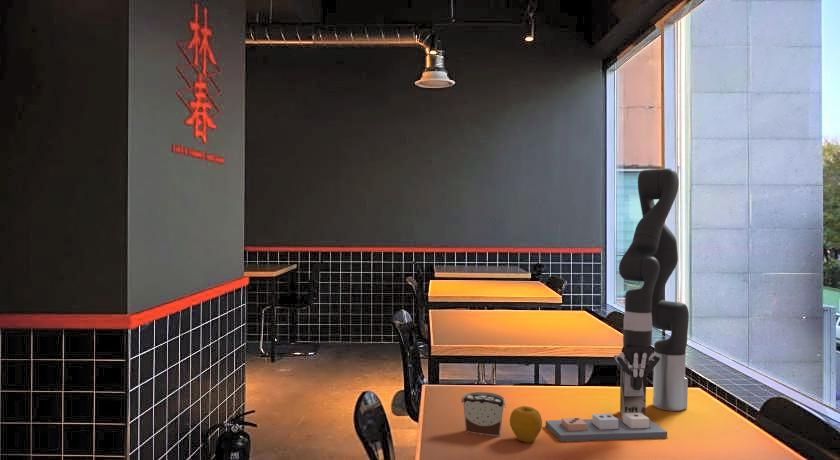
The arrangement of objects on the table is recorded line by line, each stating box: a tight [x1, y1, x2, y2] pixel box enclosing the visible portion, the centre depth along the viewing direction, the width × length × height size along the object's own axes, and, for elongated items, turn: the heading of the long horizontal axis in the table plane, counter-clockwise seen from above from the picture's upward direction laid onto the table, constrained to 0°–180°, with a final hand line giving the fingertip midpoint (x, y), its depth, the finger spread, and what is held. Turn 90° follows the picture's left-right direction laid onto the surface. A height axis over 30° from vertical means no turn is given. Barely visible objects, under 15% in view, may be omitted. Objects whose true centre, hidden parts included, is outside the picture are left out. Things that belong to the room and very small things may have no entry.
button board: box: [545, 417, 668, 442], centre depth 172 cm, size 30×12×2 cm, turn 98°
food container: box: [460, 391, 507, 438], centre depth 172 cm, size 12×6×10 cm, turn 71°
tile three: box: [561, 417, 587, 431], centre depth 171 cm, size 5×5×3 cm
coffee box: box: [619, 359, 647, 418], centre depth 186 cm, size 9×6×16 cm
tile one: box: [622, 413, 650, 429], centre depth 173 cm, size 5×5×3 cm
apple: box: [509, 405, 543, 443], centre depth 165 cm, size 9×8×9 cm
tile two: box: [591, 413, 618, 430], centre depth 172 cm, size 5×5×3 cm
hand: (635, 389), depth 173 cm, fingers closed
